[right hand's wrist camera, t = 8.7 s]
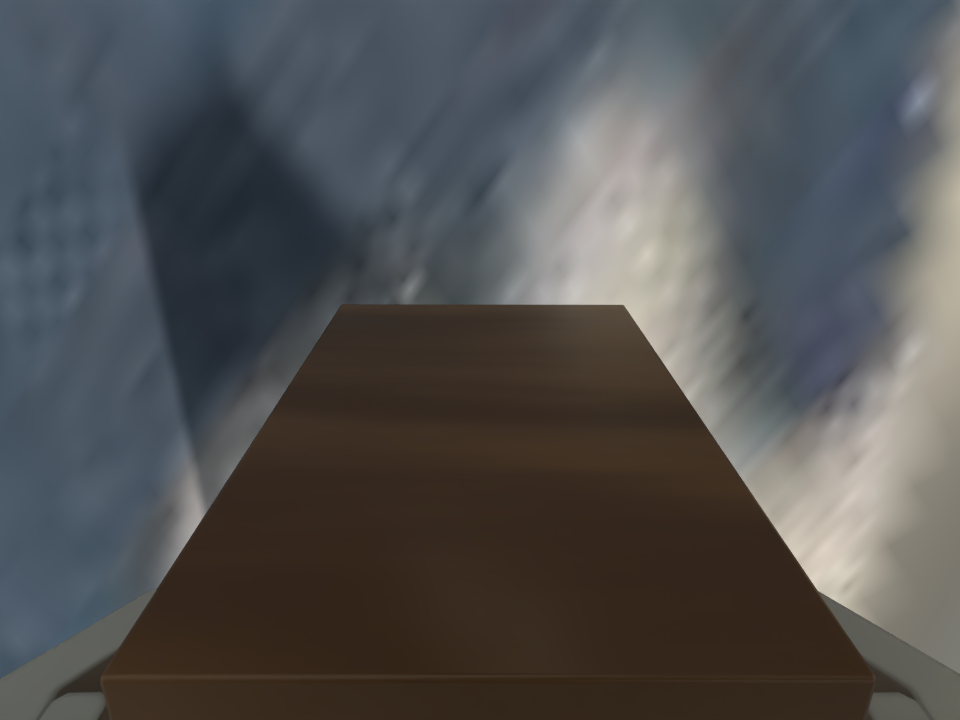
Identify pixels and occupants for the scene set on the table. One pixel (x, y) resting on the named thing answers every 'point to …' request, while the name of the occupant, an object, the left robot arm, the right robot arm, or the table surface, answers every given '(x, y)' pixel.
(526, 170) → the table surface
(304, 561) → the bar
